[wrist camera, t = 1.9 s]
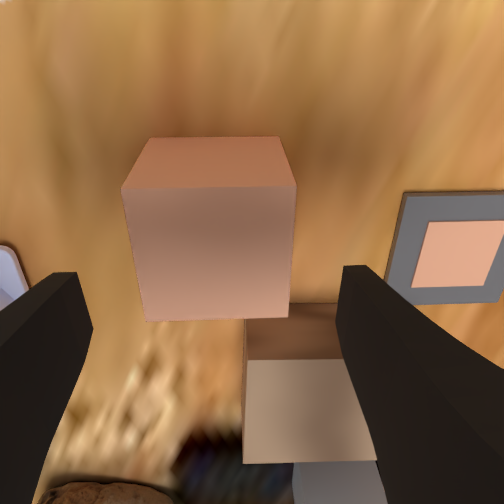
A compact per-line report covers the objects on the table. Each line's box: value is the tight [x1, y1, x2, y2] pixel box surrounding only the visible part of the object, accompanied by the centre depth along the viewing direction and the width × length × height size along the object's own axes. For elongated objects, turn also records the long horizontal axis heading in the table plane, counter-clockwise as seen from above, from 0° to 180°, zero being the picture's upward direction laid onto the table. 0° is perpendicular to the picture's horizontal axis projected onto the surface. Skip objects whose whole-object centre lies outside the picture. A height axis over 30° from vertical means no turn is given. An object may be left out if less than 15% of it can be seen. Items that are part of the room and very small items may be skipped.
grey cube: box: [292, 460, 388, 504], centre depth 26 cm, size 5×5×5 cm
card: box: [384, 191, 504, 305], centre depth 18 cm, size 6×6×1 cm
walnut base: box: [241, 303, 377, 464], centre depth 21 cm, size 8×8×4 cm
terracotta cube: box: [120, 136, 297, 322], centre depth 15 cm, size 5×5×5 cm
